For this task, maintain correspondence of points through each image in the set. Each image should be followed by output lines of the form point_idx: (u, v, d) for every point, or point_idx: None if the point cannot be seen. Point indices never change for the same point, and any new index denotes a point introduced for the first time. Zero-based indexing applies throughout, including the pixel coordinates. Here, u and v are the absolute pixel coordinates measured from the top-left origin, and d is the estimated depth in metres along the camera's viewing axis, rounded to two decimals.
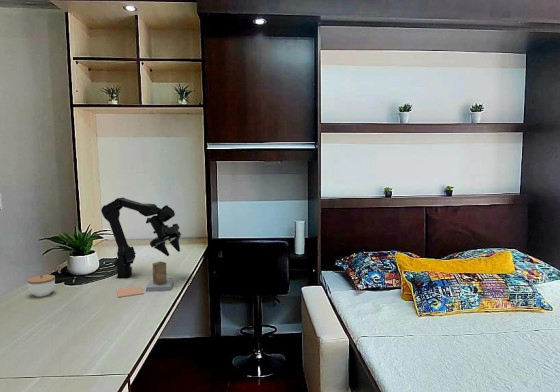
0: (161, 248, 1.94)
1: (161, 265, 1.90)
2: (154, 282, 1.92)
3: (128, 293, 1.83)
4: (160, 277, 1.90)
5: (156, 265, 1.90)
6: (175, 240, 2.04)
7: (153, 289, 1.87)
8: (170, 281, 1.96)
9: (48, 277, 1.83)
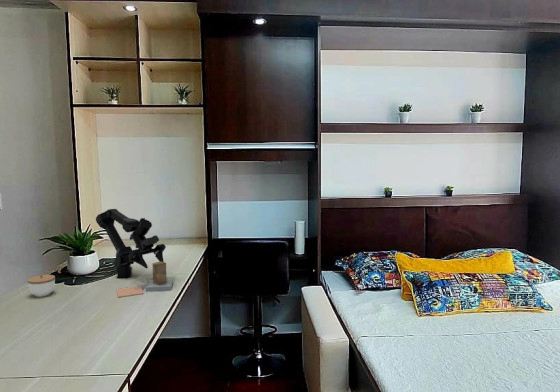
0: (139, 261, 1.91)
1: (161, 265, 1.90)
2: (154, 282, 1.92)
3: (128, 293, 1.83)
4: (160, 277, 1.90)
5: (156, 265, 1.90)
6: (158, 253, 2.00)
7: (153, 289, 1.87)
8: (170, 281, 1.96)
9: (48, 277, 1.83)
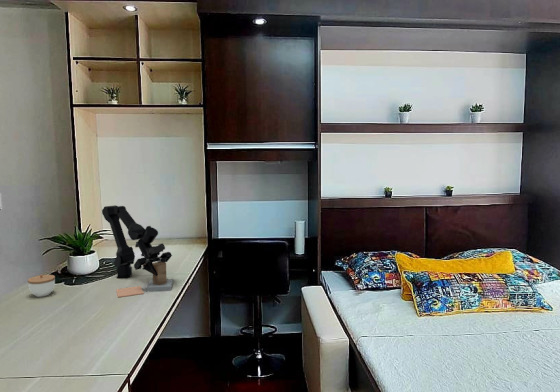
0: (149, 269, 1.91)
1: (161, 265, 1.90)
2: (154, 282, 1.92)
3: (128, 293, 1.83)
4: (160, 277, 1.90)
5: (156, 265, 1.90)
6: None
7: (153, 289, 1.87)
8: (170, 281, 1.96)
9: (48, 277, 1.83)
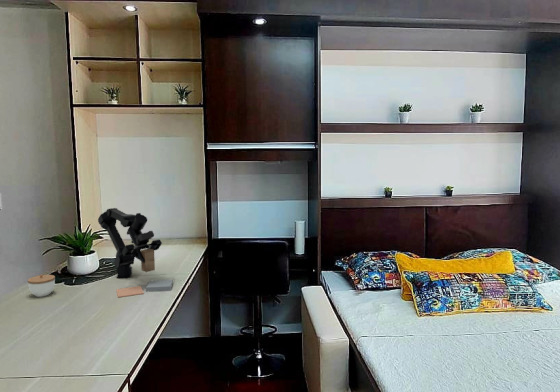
0: (138, 255, 1.92)
1: (149, 252, 1.91)
2: (142, 269, 1.93)
3: (128, 293, 1.83)
4: (148, 264, 1.91)
5: (144, 252, 1.91)
6: None
7: (153, 289, 1.87)
8: (170, 281, 1.96)
9: (48, 277, 1.83)
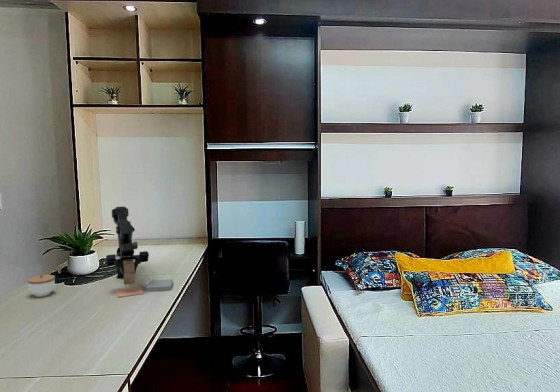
0: (119, 266, 1.86)
1: (128, 264, 1.83)
2: None
3: (128, 293, 1.83)
4: (127, 276, 1.83)
5: (123, 264, 1.83)
6: (134, 261, 1.88)
7: (153, 289, 1.87)
8: (170, 281, 1.96)
9: (48, 277, 1.83)
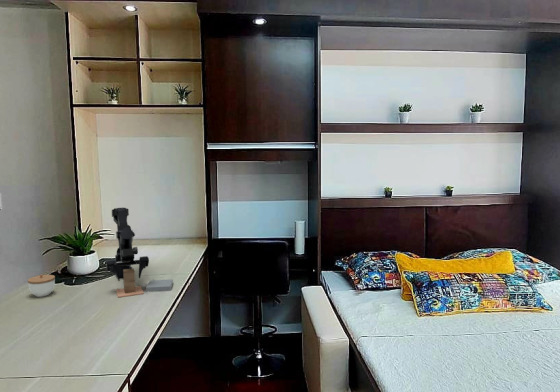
0: None
1: (128, 273, 1.83)
2: (124, 289, 1.86)
3: (128, 293, 1.83)
4: (127, 285, 1.83)
5: (123, 272, 1.84)
6: (139, 265, 1.89)
7: (153, 289, 1.87)
8: (170, 281, 1.96)
9: (48, 277, 1.83)
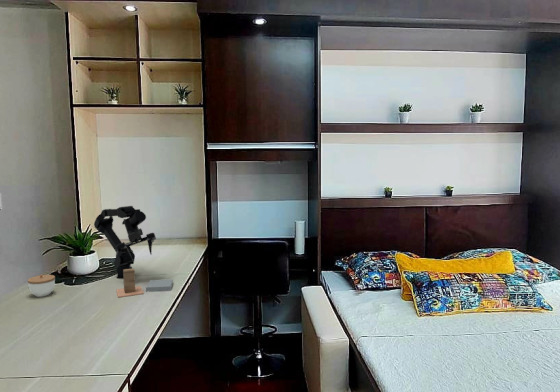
0: None
1: (128, 273, 1.83)
2: (124, 289, 1.86)
3: (128, 293, 1.83)
4: (127, 285, 1.83)
5: (123, 272, 1.84)
6: (148, 243, 2.01)
7: (153, 289, 1.87)
8: (170, 281, 1.96)
9: (48, 277, 1.83)
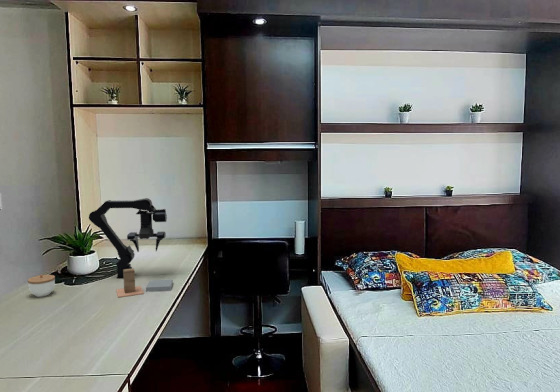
0: None
1: (128, 273, 1.83)
2: (124, 289, 1.86)
3: (128, 293, 1.83)
4: (127, 285, 1.83)
5: (123, 272, 1.84)
6: (156, 240, 2.10)
7: (153, 289, 1.87)
8: (170, 281, 1.96)
9: (48, 277, 1.83)
